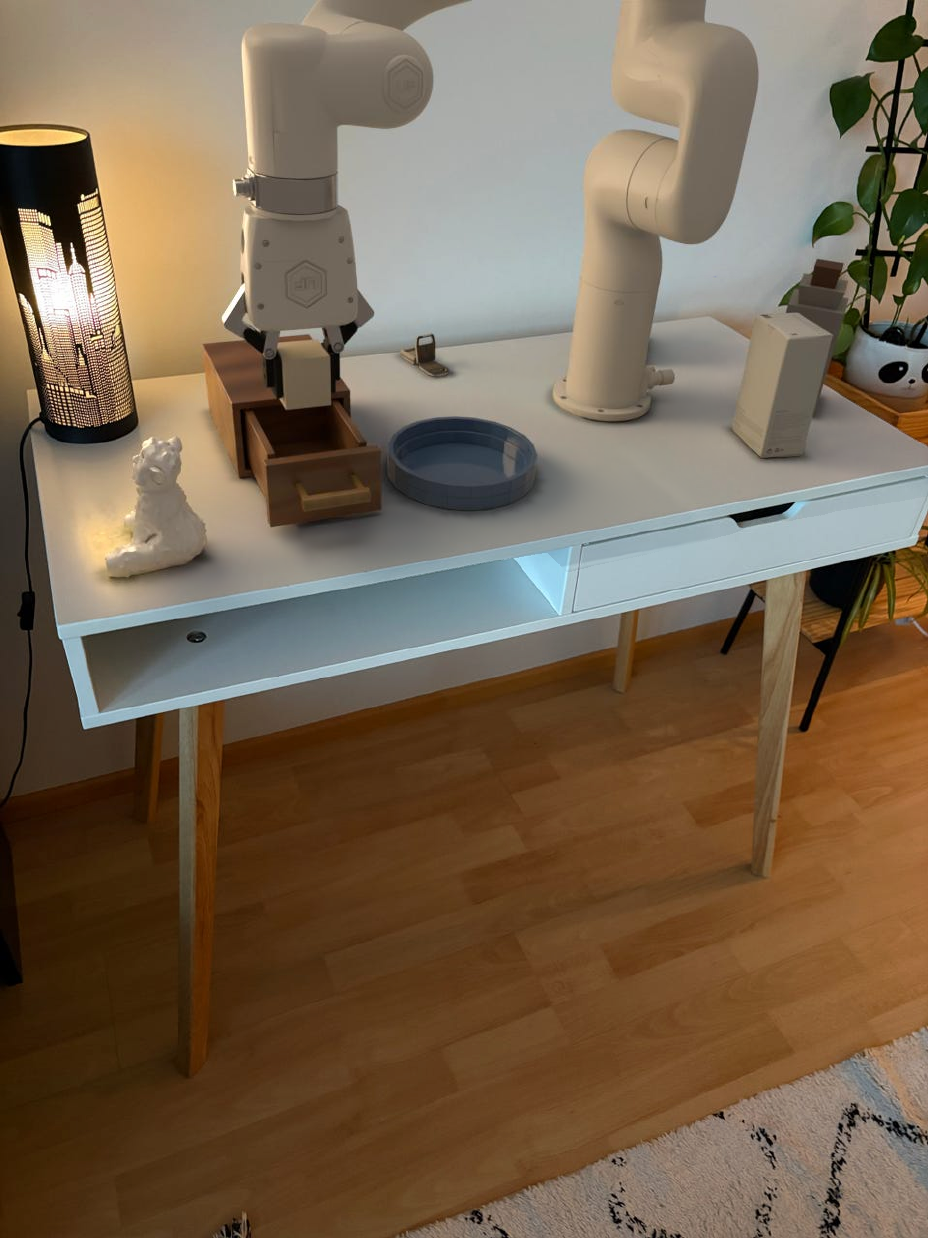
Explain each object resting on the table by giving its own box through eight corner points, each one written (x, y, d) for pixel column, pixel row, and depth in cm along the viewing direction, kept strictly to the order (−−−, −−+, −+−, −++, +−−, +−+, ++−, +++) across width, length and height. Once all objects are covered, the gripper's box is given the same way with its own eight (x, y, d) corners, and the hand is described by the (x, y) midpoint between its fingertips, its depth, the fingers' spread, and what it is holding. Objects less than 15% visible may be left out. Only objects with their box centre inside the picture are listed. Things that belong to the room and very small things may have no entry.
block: (318, 386, 96) (317, 338, 93) (331, 405, 93) (330, 356, 90) (274, 391, 95) (272, 342, 92) (286, 410, 92) (283, 360, 89)
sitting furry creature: (130, 524, 94) (110, 411, 87) (218, 528, 94) (206, 416, 87) (102, 579, 86) (78, 461, 79) (199, 583, 87) (183, 465, 79)
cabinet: (351, 462, 107) (350, 389, 101) (238, 477, 102) (231, 403, 97) (311, 401, 119) (309, 333, 113) (209, 412, 114) (201, 343, 109)
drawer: (395, 531, 94) (396, 470, 90) (281, 550, 90) (276, 487, 86) (337, 442, 108) (336, 386, 104) (237, 455, 104) (231, 397, 100)
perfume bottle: (761, 406, 125) (797, 266, 114) (768, 387, 130) (803, 252, 119) (813, 417, 123) (855, 276, 113) (818, 397, 129) (859, 261, 118)
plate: (497, 433, 114) (499, 409, 112) (559, 500, 103) (562, 473, 101) (368, 451, 109) (368, 425, 107) (417, 523, 97) (418, 496, 95)
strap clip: (398, 356, 132) (398, 325, 129) (417, 352, 133) (417, 322, 131) (432, 378, 126) (433, 347, 124) (451, 373, 128) (452, 343, 125)
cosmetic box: (802, 457, 114) (839, 336, 105) (757, 459, 113) (790, 337, 104) (770, 425, 121) (801, 309, 112) (726, 428, 119) (755, 310, 110)
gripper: (203, 206, 77) (223, 415, 88) (401, 200, 83) (396, 396, 94) (187, 184, 82) (208, 383, 93) (374, 179, 88) (372, 367, 99)
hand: (302, 388), depth 93 cm, fingers closed on block, 4 cm apart
